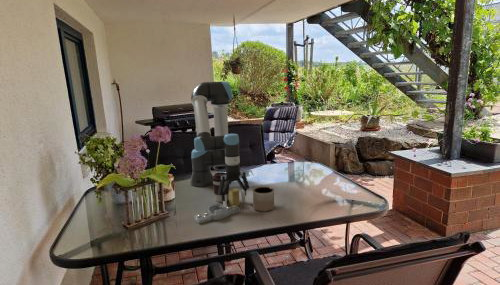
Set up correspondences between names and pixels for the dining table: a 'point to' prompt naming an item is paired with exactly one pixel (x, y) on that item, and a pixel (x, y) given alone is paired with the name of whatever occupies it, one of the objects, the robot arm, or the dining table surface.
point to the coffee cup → (216, 183)
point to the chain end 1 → (208, 215)
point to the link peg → (234, 197)
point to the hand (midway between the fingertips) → (234, 204)
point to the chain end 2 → (227, 210)
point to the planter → (263, 198)
